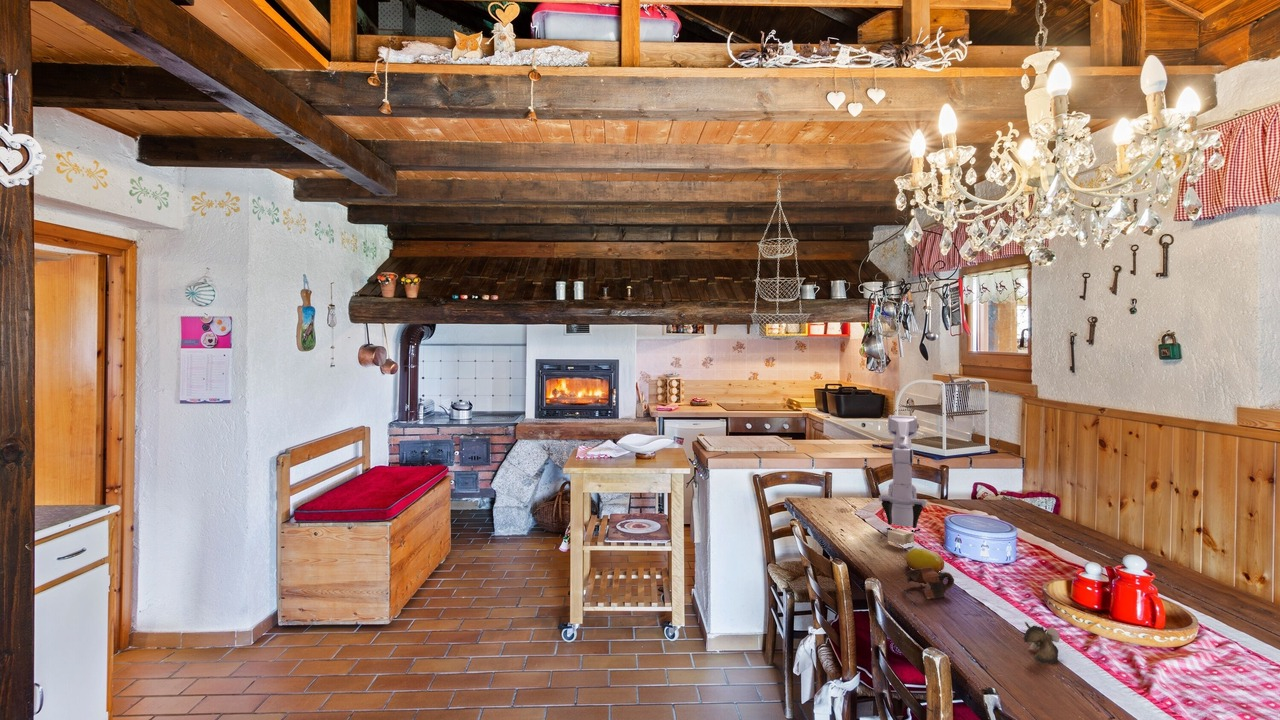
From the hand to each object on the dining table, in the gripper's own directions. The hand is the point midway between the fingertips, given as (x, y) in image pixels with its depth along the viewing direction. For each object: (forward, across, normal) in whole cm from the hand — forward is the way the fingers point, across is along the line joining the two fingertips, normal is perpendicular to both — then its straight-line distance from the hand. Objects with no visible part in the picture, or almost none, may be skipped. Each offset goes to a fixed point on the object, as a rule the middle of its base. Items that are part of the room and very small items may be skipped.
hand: (902, 525), depth 192 cm
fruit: (+11, +9, -9) cm, 17 cm away
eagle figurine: (+17, +39, -48) cm, 64 cm away
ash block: (+8, -3, +11) cm, 14 cm away
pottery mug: (+14, +13, -27) cm, 33 cm away
